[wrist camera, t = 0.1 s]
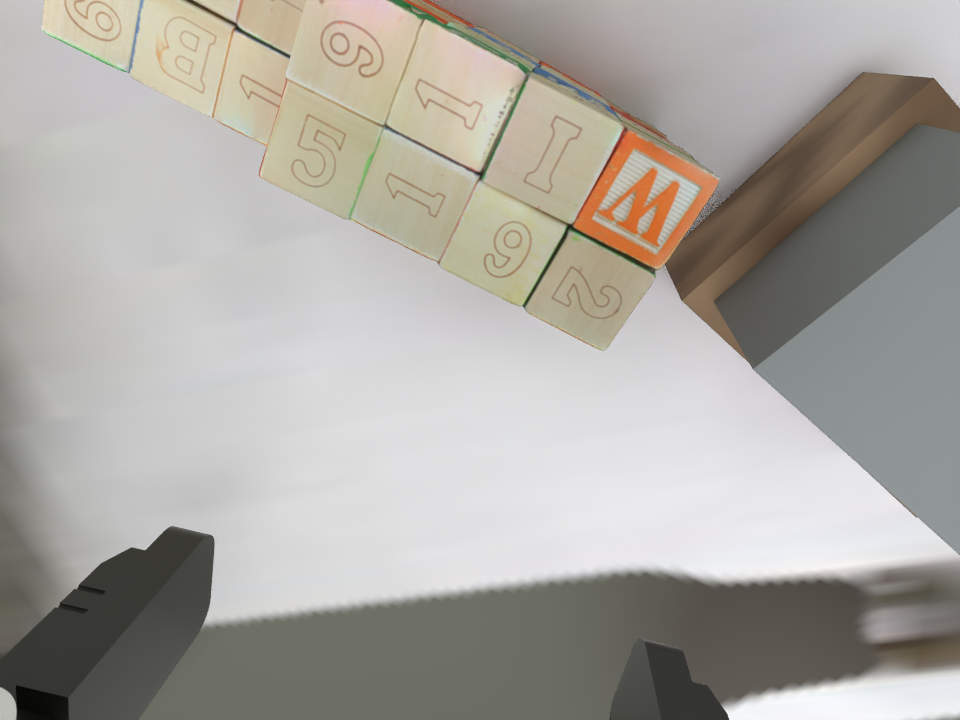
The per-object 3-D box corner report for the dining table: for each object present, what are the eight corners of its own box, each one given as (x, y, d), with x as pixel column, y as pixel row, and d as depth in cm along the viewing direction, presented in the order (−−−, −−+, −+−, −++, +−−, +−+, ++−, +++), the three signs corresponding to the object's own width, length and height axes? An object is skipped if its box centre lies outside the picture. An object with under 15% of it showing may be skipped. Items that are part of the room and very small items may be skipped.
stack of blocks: (187, 33, 28) (-47, 26, 17) (220, -121, 25) (-35, -244, 15) (590, 247, 31) (606, 358, 20) (662, 128, 28) (728, 183, 17)
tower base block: (858, 71, 26) (934, 78, 21) (1067, 309, 29) (1177, 367, 24) (661, 256, 31) (681, 300, 25) (861, 444, 34) (916, 517, 29)
